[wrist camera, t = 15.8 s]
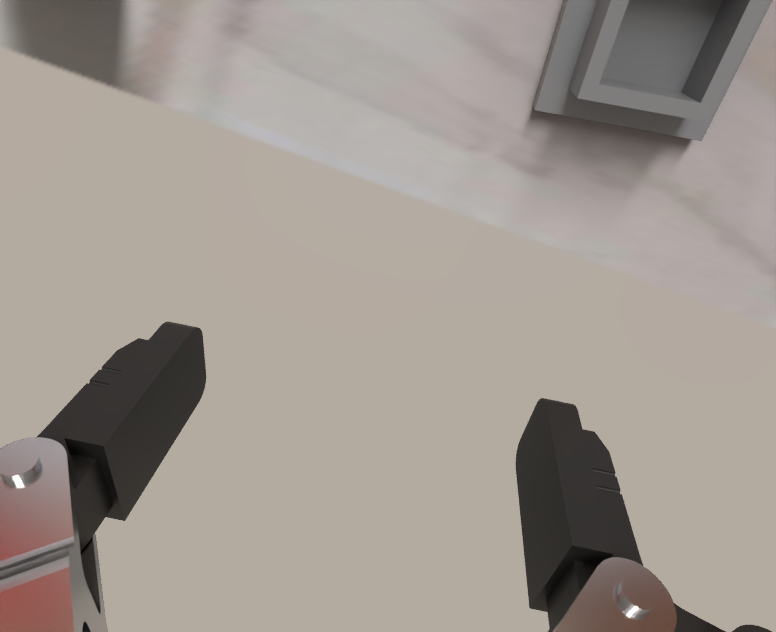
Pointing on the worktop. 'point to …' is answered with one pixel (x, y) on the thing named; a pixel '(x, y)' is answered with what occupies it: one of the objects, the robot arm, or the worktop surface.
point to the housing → (647, 61)
